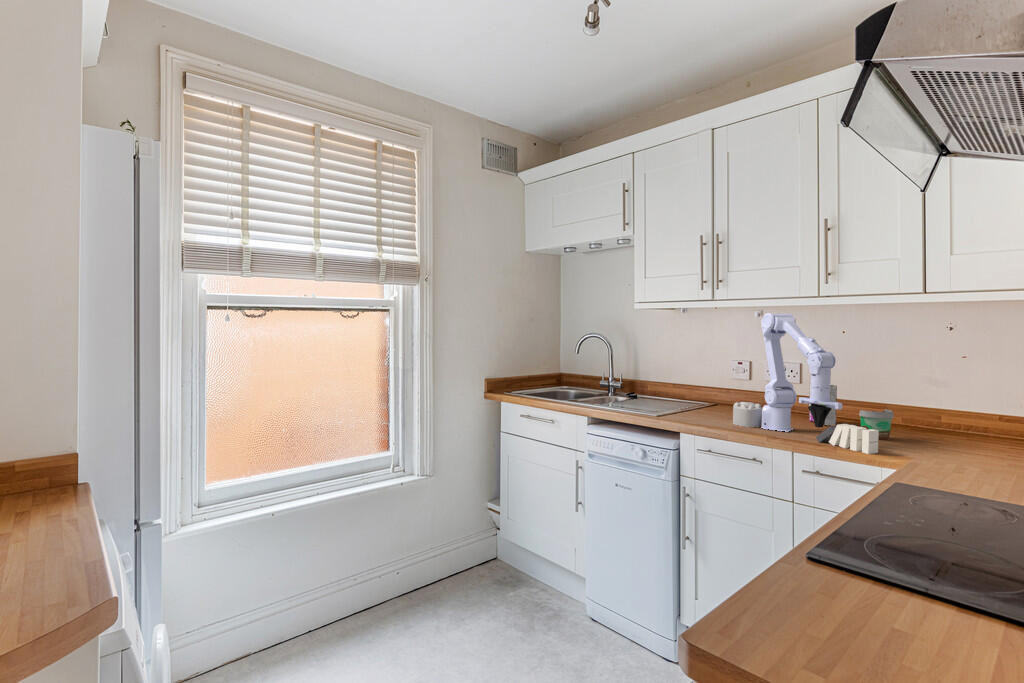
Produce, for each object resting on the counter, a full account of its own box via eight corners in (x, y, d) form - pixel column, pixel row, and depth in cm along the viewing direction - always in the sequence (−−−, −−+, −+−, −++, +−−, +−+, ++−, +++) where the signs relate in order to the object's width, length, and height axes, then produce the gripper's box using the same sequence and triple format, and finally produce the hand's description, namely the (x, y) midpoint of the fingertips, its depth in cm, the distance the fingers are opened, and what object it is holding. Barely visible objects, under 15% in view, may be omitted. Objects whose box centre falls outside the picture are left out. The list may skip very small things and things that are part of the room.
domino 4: (861, 452, 158) (862, 430, 158) (871, 451, 160) (872, 429, 159) (868, 453, 156) (869, 431, 156) (877, 452, 158) (878, 430, 158)
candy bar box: (807, 421, 212) (809, 381, 211) (820, 421, 212) (821, 381, 211) (823, 426, 201) (825, 384, 200) (836, 426, 201) (837, 384, 200)
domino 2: (838, 446, 165) (843, 425, 164) (848, 445, 166) (852, 424, 165) (844, 448, 163) (849, 427, 162) (854, 447, 165) (858, 426, 163)
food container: (874, 442, 173) (875, 412, 172) (858, 438, 179) (859, 410, 178) (902, 440, 176) (903, 411, 176) (885, 436, 182) (886, 408, 182)
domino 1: (828, 442, 168) (837, 424, 165) (838, 441, 170) (846, 423, 167) (834, 445, 167) (842, 428, 164) (843, 444, 168) (852, 427, 165)
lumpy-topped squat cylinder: (760, 423, 206) (761, 401, 206) (762, 428, 194) (763, 406, 194) (732, 421, 210) (733, 400, 210) (733, 426, 198) (733, 404, 198)
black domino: (815, 437, 173) (830, 426, 168) (824, 436, 174) (839, 425, 169) (819, 442, 171) (834, 431, 166) (828, 441, 173) (843, 430, 168)
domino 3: (850, 449, 162) (850, 427, 161) (859, 448, 163) (860, 426, 163) (856, 451, 160) (857, 428, 159) (865, 450, 161) (866, 428, 161)
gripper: (793, 385, 179) (791, 423, 179) (832, 390, 165) (830, 432, 166) (807, 384, 181) (806, 422, 182) (847, 389, 168) (845, 430, 168)
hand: (819, 427), depth 174 cm, fingers closed
